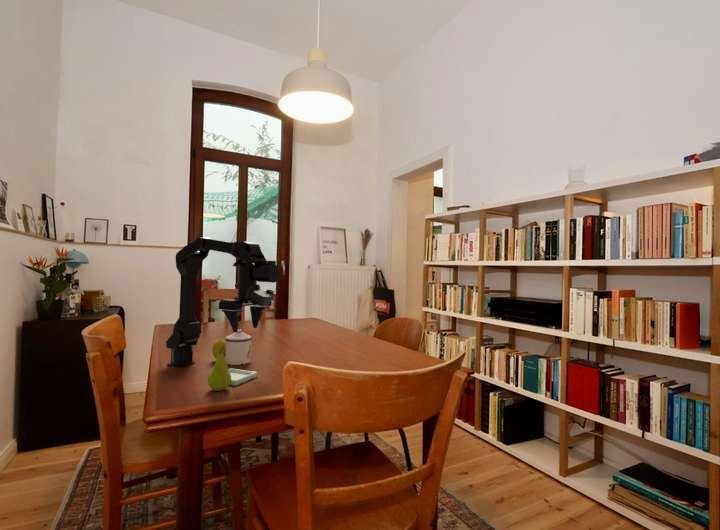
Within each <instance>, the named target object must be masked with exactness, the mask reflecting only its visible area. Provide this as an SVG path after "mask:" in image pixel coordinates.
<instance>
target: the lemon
mask: <svg viewBox="0 0 720 530" xmlns="http://www.w3.org/2000/svg"><path fill="white" fill-rule="evenodd" d="M222 347H224V348H223V349H222ZM221 349H222V351H221V353H222V354H223V356H224V357H225V356H226V340H225V339H222V338H219V339H218V340H215V342H214V343H213V346H212V350H211V351H212V352H211V353H212V356H213V357H214V359H217V356H218V354H219V352H220V350H221Z"/></svg>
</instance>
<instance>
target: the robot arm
mask: <svg viewBox="0 0 720 530" xmlns="http://www.w3.org/2000/svg"><path fill="white" fill-rule="evenodd" d="M210 251H212V252H213V251H214V252H220V253H225V254H229V255H231V256H232V257H234V258H237V260H236V261H235V262H234V263H233V264H232V267H238V275H237V278H238V279H237V283H235V284H234V287H235V288H237V296H235V297H234V299H233V298H231V299H230V298H229V299H228V298H227V299H220V301H219V302H218V310H221V312H222V313H224V315H225V317H226V319H227V321H228V322H229V325H230V327H231V328H232V331H233V333H236V332H237V331H238V330H239V320H240V315H241V313H242V312H243V310H242V308H244V307H247V306H249V310H250V316H251V324H252V327H253V329H257V328H258V325H259V324H260V320H261V318H262V315H263V313H264V312H265V311H266V310H268V309H269V307H270V306H272V301H274V300H275V298H274V297H275V290H272V289H266V291H265V290H261V286H260V284H258V283H274V284H275V283H276V282H278V280H279V278H280V275H281V274H280V269H279V266H278V265H277V261H276V260H267V259H266V257H265V255H264V254H263V252H262V249H261V246H260V244H259V243H257V242H252V241H232V242H231V241H226V240H221V239H220V240H219V239H213V238H211V237H207V236H206V237H203V236H199V237H197V238H196V239H195V240H194V241H192V242H191V243H189V244H187V245H184V246H183V247H182V248H181V249H180V250H178V251H177V252H176V254H175V268H176V269H177V271H178V274H179V275H180V284H179V285H180V288H179V290H180V291H179V312H178V313H179V316H178V319H177V320H176V322H175V324H174V326H173V329H172V330H173V331H172V334H171V335H170V336H169V337H168V339H167V340H166V341H165V345H166V349H170V362H168V363H166V365H167V366H169V365H171V366H170V367H176V368H184V367H186V366H190V365H194V364H196V361H193V358H194V357H193V354H194V352H193V346H196V345H197V344H198V341H199V339H200V337H201V334H202V322H201V321H198V319H197V317H196V305H197V304H196V302H197V301H196V300H197V298H196V297H197V279H198V278H197V277H198V274H199V273H200V271H201V269H202V267H203V262H204V260H206V258H208V256H209V253H210Z"/></svg>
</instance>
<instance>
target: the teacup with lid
mask: <svg viewBox="0 0 720 530" xmlns="http://www.w3.org/2000/svg"><path fill="white" fill-rule="evenodd" d="M224 340H225V341H226V356H225V359H226V362H227V365H229V364H230V365H229V366H241V364H243V365H247V364H249V363H250V362H251V359H252V356H251V354H252V353H251V352H252V340H253V337H252V336H251V335H248V334H247V333H245V332H243V331H242V329H238V331H237V332H233V333H231V334H230V335H227V336H226V337H225V339H224ZM246 363H247V364H246Z"/></svg>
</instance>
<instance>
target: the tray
mask: <svg viewBox="0 0 720 530" xmlns="http://www.w3.org/2000/svg"><path fill="white" fill-rule="evenodd" d="M228 371H229V373H230V375H231V383H230V385H229V386H233V387H235V386H239V385H242V384H244V383H246V382H248V380H249V381H250V379H251V380H253V379H256V378H257V377H258V372H257V371H253V370H252V371H251V370H244V369H237V368H231V367H230V368H228ZM252 378H253V379H252ZM241 383H242V384H241Z"/></svg>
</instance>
